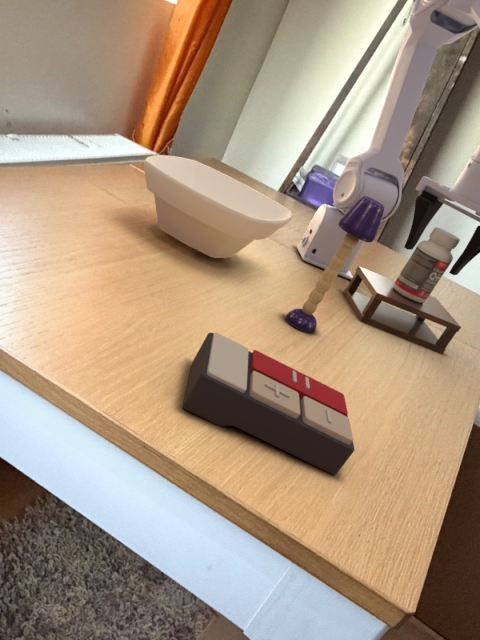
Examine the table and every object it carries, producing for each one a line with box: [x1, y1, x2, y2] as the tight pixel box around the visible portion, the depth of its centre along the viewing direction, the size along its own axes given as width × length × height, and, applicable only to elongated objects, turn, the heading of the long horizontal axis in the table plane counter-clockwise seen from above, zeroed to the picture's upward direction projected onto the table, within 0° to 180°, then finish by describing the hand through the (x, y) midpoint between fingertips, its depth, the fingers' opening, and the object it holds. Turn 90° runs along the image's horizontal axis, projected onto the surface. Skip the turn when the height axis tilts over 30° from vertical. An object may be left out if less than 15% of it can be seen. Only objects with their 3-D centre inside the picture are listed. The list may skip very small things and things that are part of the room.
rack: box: [342, 265, 462, 354], centre depth 114 cm, size 14×12×4 cm
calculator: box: [182, 332, 355, 476], centre depth 69 cm, size 11×4×15 cm
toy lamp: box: [285, 196, 384, 334], centre depth 93 cm, size 5×5×17 cm
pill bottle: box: [393, 226, 461, 303], centre depth 110 cm, size 5×5×10 cm
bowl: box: [143, 154, 293, 259], centre depth 107 cm, size 21×21×9 cm
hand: (430, 261), depth 110 cm, fingers open, 7 cm apart
